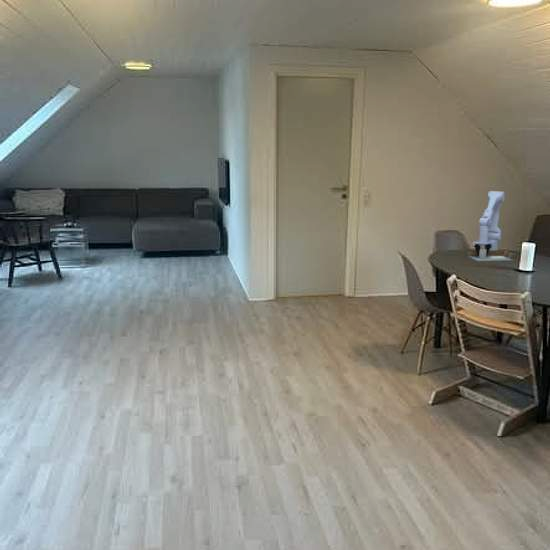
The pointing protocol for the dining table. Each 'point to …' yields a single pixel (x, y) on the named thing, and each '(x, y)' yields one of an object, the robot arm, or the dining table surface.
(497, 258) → the mat
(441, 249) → the dining table surface
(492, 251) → the walls
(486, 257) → the bracket
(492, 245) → the robot arm
